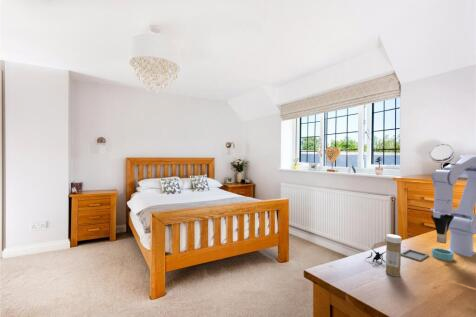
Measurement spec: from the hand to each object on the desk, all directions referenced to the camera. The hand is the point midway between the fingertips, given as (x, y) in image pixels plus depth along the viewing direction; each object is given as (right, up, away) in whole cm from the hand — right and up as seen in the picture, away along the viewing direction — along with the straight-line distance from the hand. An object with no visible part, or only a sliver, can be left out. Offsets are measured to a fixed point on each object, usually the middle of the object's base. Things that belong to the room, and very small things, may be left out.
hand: (441, 233), depth 100 cm
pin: (0, -4, 0) cm, 4 cm away
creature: (-29, -11, -4) cm, 31 cm away
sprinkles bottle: (-28, -11, -13) cm, 32 cm away
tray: (-10, -10, +2) cm, 14 cm away
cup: (+1, -10, +1) cm, 10 cm away
